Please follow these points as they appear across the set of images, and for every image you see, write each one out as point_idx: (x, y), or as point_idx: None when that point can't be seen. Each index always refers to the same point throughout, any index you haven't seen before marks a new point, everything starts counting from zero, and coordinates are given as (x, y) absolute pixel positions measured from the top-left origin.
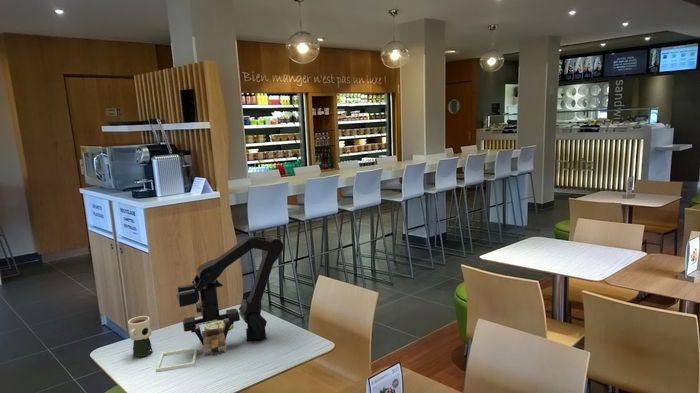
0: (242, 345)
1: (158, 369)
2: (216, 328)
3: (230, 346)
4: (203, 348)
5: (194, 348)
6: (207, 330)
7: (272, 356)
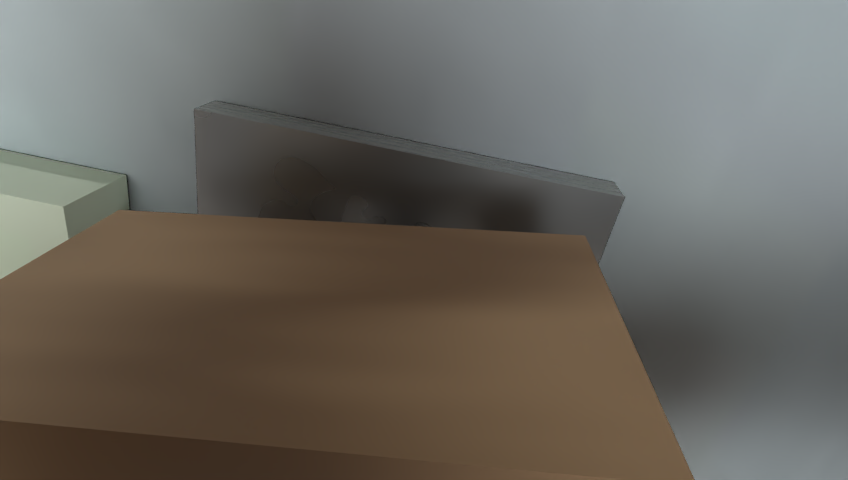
0: (829, 329)
1: None
2: (434, 458)
3: (649, 262)
4: (198, 190)
5: (25, 234)
6: (32, 431)
7: None
